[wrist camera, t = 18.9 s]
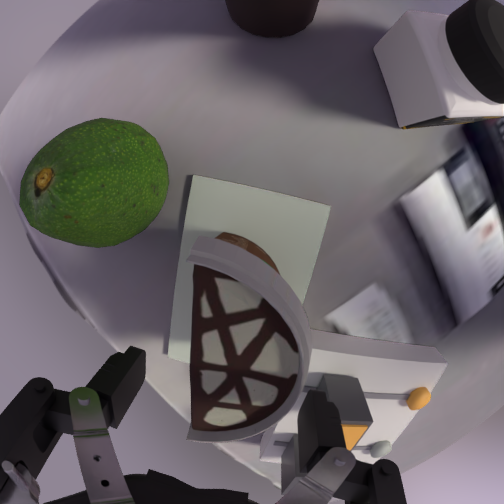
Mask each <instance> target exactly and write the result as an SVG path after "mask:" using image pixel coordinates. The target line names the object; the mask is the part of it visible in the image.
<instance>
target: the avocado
mask: <svg viewBox="0 0 504 504" xmlns="http://www.w3.org/2000/svg"><path fill="white" fill-rule="evenodd" d="M168 185H169V178H168V167H167V163H166V160H165V158H164V155H163V153H162V150H161V147H160V146H159V144H158V142H157V141H156V139H155V138H154V137H153V136H152V135H151V134H149V133H148V132H147V131H146V130H144V129H143V128H142V127H141V126H139V125H137V124H135V123H132V122H127V121H121V120H114V119H106V118H99V119H94V120H90V121H86V122H83V123H81V124H78V125H75V126H73V127H70V128H68V129H66V130H65V131H63V132H62V133H60V134H59V135H58V136H56V137H55V138H54V139H52V140H51V141H50V142H49V143H47V144H46V145H45V146H44V147H43V148H42V149H41V150H40V151H39V152H38V153H37V154H36V155H35V156H34V158H33V159H32V160H31V162H30V164H29V165H28V167H27V169H26V171H25V174H24V176H23V178H22V181H21V189H20V207H21V209H22V211H23V212H24V214H25V216H26V218H27V220H28V222H29V224H30V225H31V226H32V227H34V228H35V229H37V230H39V231H40V232H41V233H43V234H45V235H48V236H50V237H52V238H55V239H59V240H62V241H65V242H69V243H72V244H75V245H80V246H88V247H96V248H99V247H107V246H115V245H117V244H119V243H122V242H124V241H126V240H128V239H130V238H132V237H134V236H135V235H137V234H138V233H140V232H142V231H143V230H145V229H146V228H147V227H148V225H149V224H150V223H151V222H152V221H153V220H154V219H155V218H156V216H157V215H158V213H159V212H160V210H161V208H162V206H163V204H164V202H165V199H166V195H167V190H168Z"/></svg>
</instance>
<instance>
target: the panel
mask: <svg viewBox="0 0 504 504" xmlns="http://www.w3.org/2000/svg"><path fill="white" fill-rule="evenodd" d="M310 330H311V334H312V353H311V359H310V364H309V370H308V375H307V380H306V383H305V385H304V388H303V390H302V392H301V394H300V396H299V397H298V399H297V401H296V403H295V404H294V406H293V407H292V408H291V410H290V411H289V413H288V414H287V415H286V416H285V417H284V418H283V419H282V420H281V421H279V422H278V423H277V424H275V425H274V426H272V427H271V428H269V429H268V430H266V431H265V432H264V434H263V436H262V439H261V442H260V460H259V461H265V462H274V463H281V455H282V454H283V452H284V450H285V449H286V447H287V445H288V443H289V442H290V440H291V438H292V436H293V435H298V425H297V418H298V413H299V410H300V408H301V406H302V403H303V401H304V399H305V397H306V395H307V393H308V391H309V390H310V389H313V390H317V388H318V386H319V383H320V381H321V379H322V377H323V375H324V374H328V375H336V376H344V377H354V378H358V380H359V382H360V385H361V388H362V390H363V393H364V396H365V399H366V402H367V404H368V407H369V410H370V413H371V416H372V419H373V421H374V422H373V423H372V424H371V426H370V427H369V429H368V430H367V431H366V433H365V434H364V435H363V437H362V438H361V439H360V441H359V442H358V443H357V445H356V446H355V447H354V449H353V450H352V451H351V452H352V453H353V454H354V456H355V458H356V459H357V460H359V461H362V462H366V463H370V464H374V463H375V462H376V461H378V460H379V459H380V458H381V457H382V456H385V455H386V454H388V453H389V452H390V451H391V449H392V447H391V445H392V444H393V443H394V442H395V440H396V439H397V438H398V437H399V435H400V434H401V433H402V432H403V430H404V429H405V428H406V426H407V425H408V424H409V423H410V421H411V420H412V418H413V417H414V416H415V414H416V413H417V412H418V410H419V409H420V408H422V407H424V406H425V405H426V404H427V403H428V402H429V400H430V398H431V394H430V393H431V391H432V390H433V388H434V386H435V385H436V383H437V382H438V380H439V378H440V377H441V375H442V373H443V372H444V370H445V368H446V367H447V365H448V363H447V361H446V360H445V359H444V358H443V356H442V355H441V354H440V353H439V351H438V350H437V349H436V348H435V347H430V346H421V345H413V344H404V343H397V342H389V341H382V340H375V339H368V338H362V337H355V336H349V335H343V334H337V333H331V332H325V331H320V330H314V329H310Z"/></svg>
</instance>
